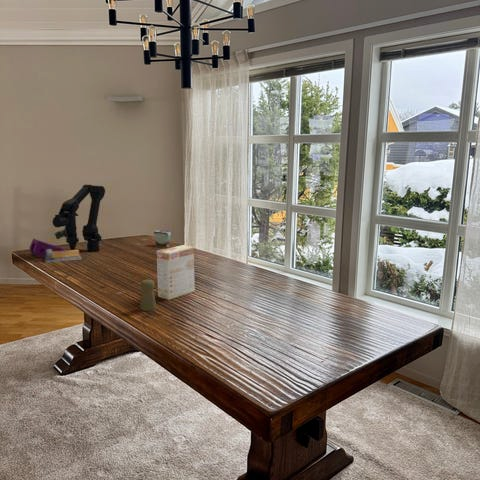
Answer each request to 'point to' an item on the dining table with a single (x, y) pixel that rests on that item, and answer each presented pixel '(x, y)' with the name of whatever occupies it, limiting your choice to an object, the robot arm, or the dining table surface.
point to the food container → (162, 238)
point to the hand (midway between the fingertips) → (72, 252)
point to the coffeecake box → (175, 271)
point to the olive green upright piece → (147, 295)
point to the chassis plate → (63, 259)
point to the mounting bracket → (42, 248)
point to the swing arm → (61, 253)
